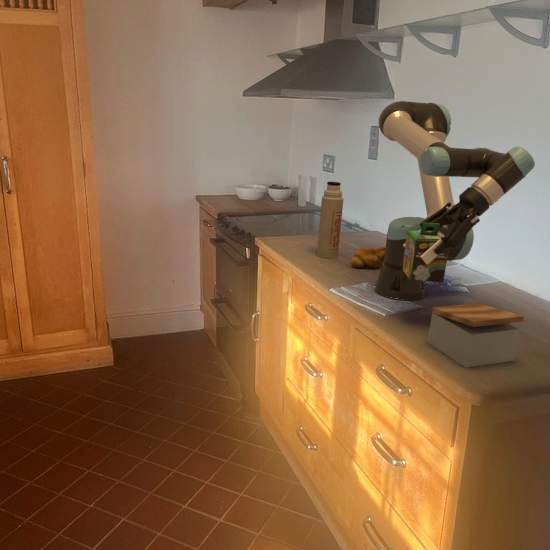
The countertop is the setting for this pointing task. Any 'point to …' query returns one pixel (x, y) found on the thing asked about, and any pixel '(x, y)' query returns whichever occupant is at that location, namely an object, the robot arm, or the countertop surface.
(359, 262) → the bread roll
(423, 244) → the chalk box
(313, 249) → the countertop surface
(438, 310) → the walnut lid
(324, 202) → the thermos bottle
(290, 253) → the countertop surface
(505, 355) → the grey crate
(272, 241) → the countertop surface
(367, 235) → the countertop surface
